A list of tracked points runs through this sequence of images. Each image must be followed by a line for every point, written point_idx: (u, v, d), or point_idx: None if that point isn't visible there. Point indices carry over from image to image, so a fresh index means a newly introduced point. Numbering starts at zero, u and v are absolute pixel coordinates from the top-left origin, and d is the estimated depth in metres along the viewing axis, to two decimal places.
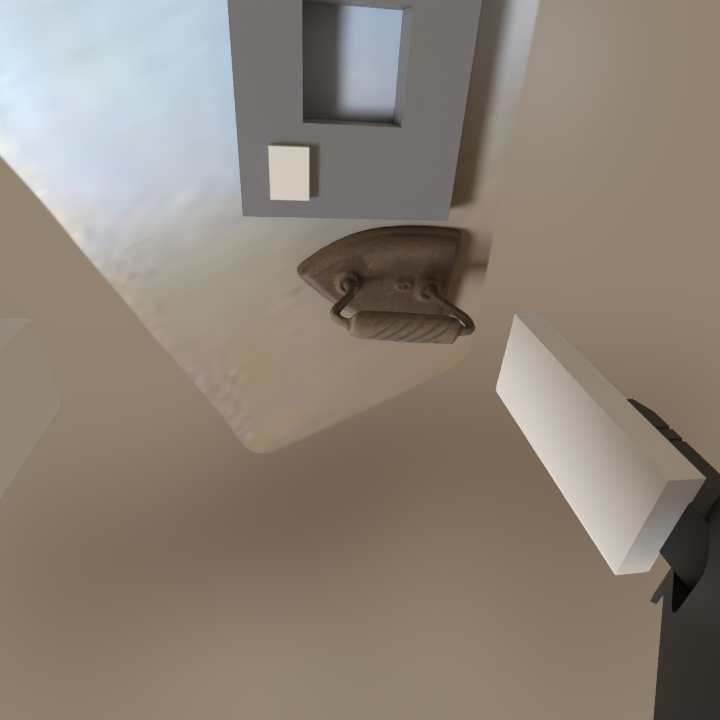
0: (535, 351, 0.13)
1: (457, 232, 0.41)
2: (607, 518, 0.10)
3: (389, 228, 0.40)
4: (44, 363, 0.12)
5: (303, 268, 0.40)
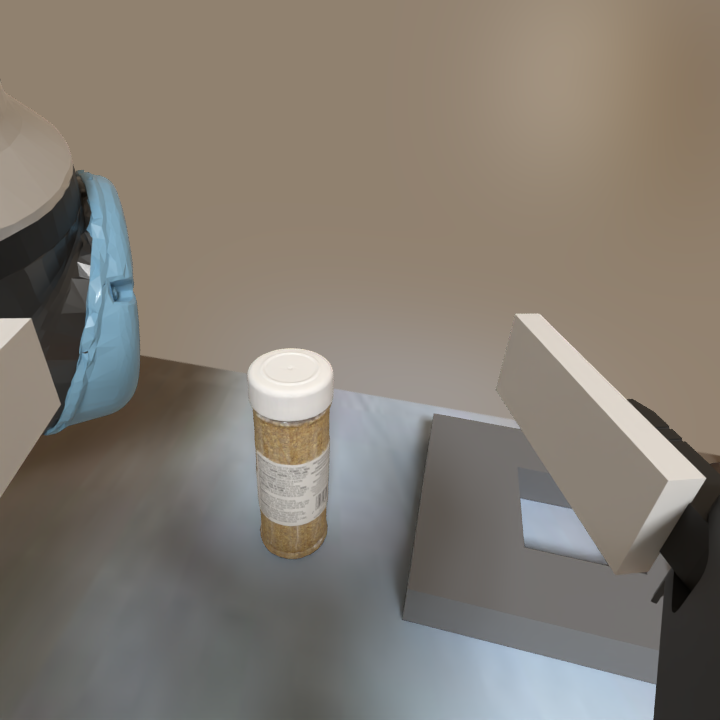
0: (534, 351, 0.13)
1: None
2: (607, 518, 0.10)
3: None
4: (44, 363, 0.12)
5: None
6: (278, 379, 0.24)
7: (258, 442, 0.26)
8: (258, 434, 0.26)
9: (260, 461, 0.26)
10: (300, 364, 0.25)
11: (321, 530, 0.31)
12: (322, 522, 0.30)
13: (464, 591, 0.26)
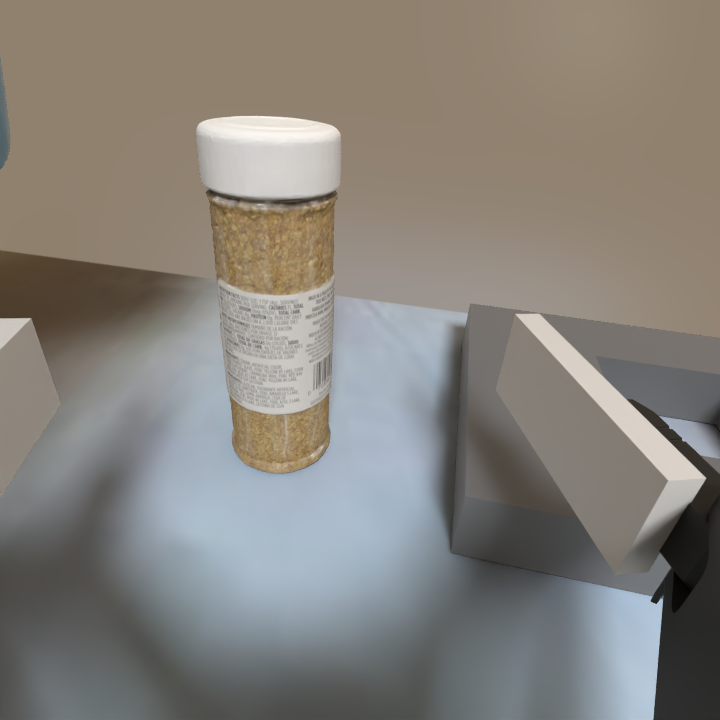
0: (535, 351, 0.13)
1: None
2: (607, 518, 0.10)
3: None
4: (44, 363, 0.12)
5: None
6: (247, 126, 0.14)
7: (219, 262, 0.16)
8: (218, 245, 0.16)
9: (224, 296, 0.16)
10: (286, 123, 0.15)
11: (322, 432, 0.21)
12: (323, 419, 0.20)
13: (555, 498, 0.16)
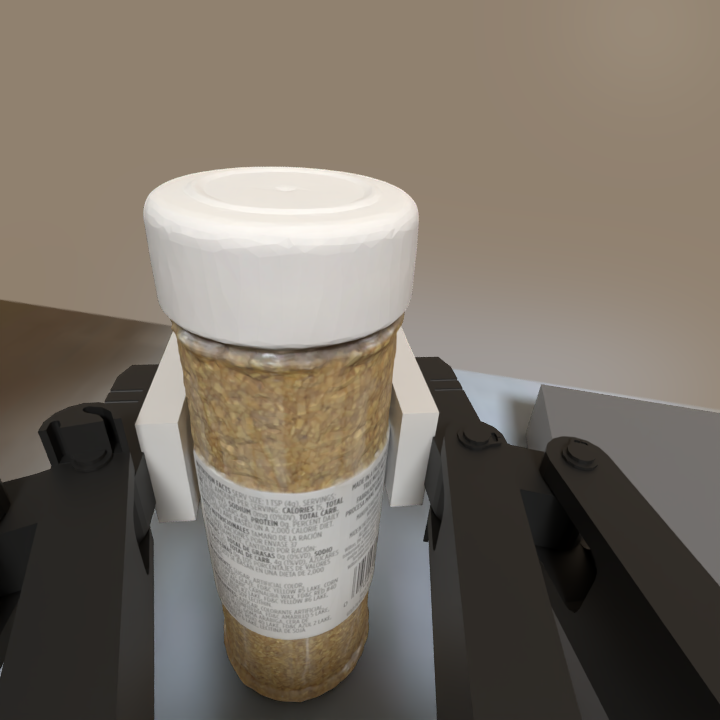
0: None
1: None
2: (387, 457, 0.11)
3: None
4: None
5: None
6: (243, 203, 0.07)
7: (195, 427, 0.09)
8: (192, 403, 0.09)
9: (205, 480, 0.09)
10: (316, 184, 0.08)
11: (359, 630, 0.14)
12: (362, 614, 0.13)
13: None
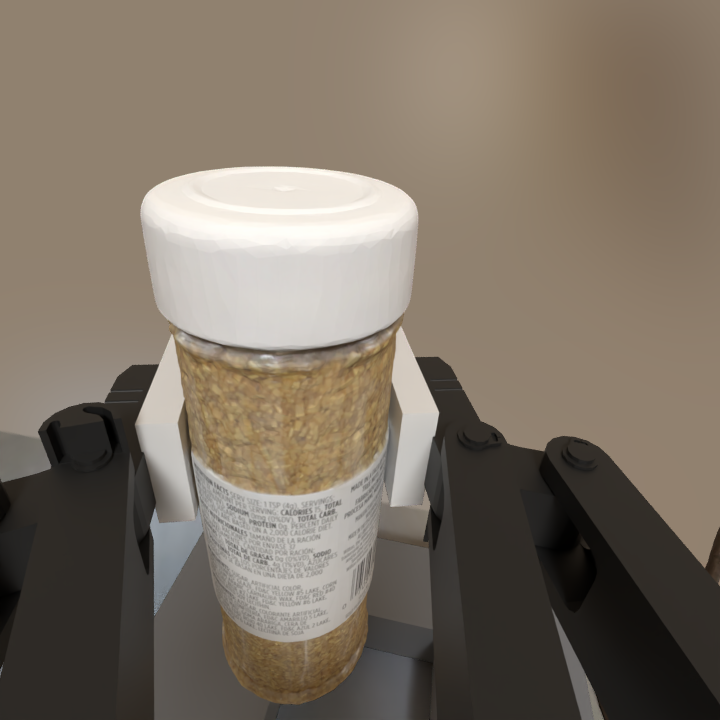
0: None
1: None
2: (387, 457, 0.11)
3: None
4: None
5: None
6: (241, 204, 0.07)
7: (193, 429, 0.09)
8: (190, 404, 0.09)
9: (202, 482, 0.09)
10: (315, 185, 0.08)
11: (358, 632, 0.14)
12: (361, 616, 0.13)
13: None
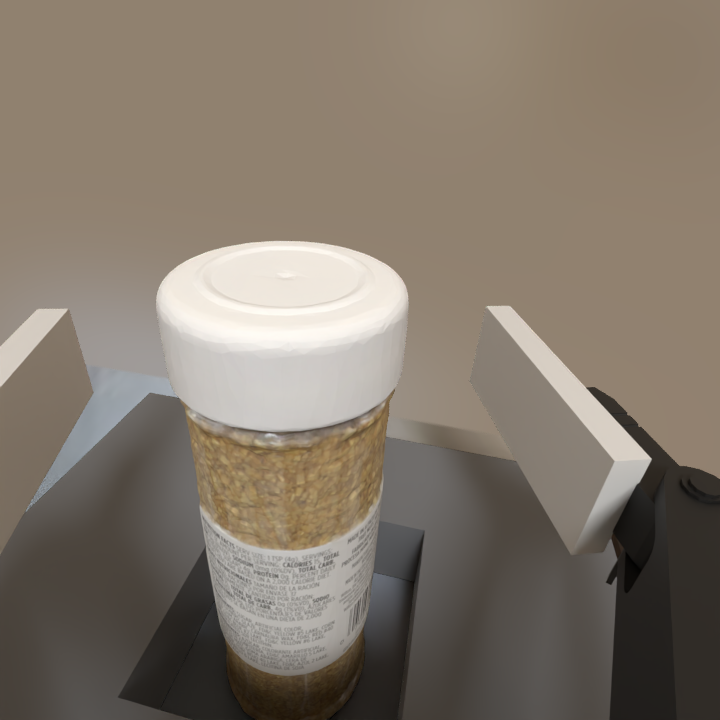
0: (503, 342, 0.13)
1: None
2: (564, 501, 0.10)
3: None
4: (79, 352, 0.13)
5: None
6: (247, 301, 0.08)
7: (201, 487, 0.10)
8: (199, 467, 0.09)
9: (210, 534, 0.10)
10: (314, 269, 0.09)
11: (355, 661, 0.14)
12: (358, 646, 0.14)
13: None
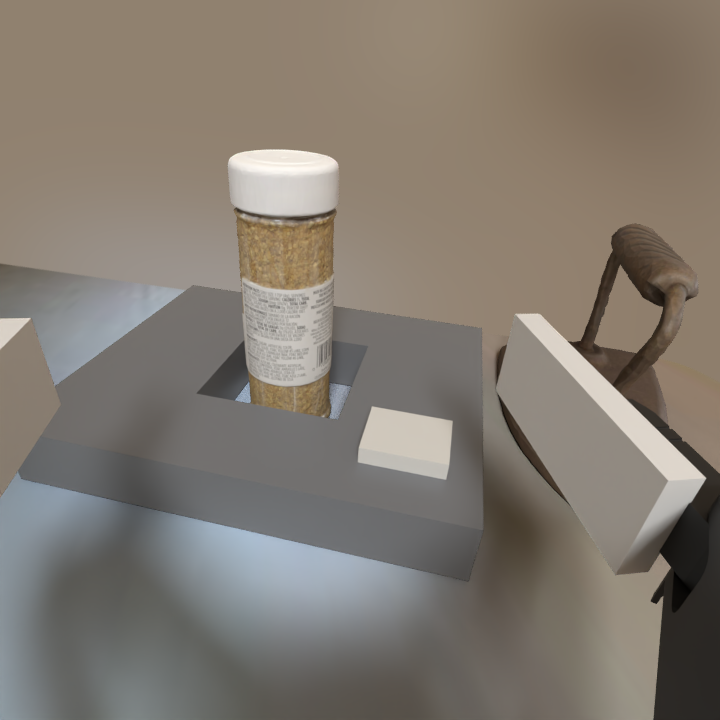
0: (534, 351, 0.13)
1: (501, 349, 0.32)
2: (607, 518, 0.10)
3: (504, 404, 0.28)
4: (44, 363, 0.12)
5: None
6: (267, 161, 0.18)
7: (243, 264, 0.21)
8: (243, 250, 0.20)
9: (247, 291, 0.21)
10: (296, 156, 0.20)
11: (323, 404, 0.25)
12: (325, 392, 0.25)
13: (73, 430, 0.20)
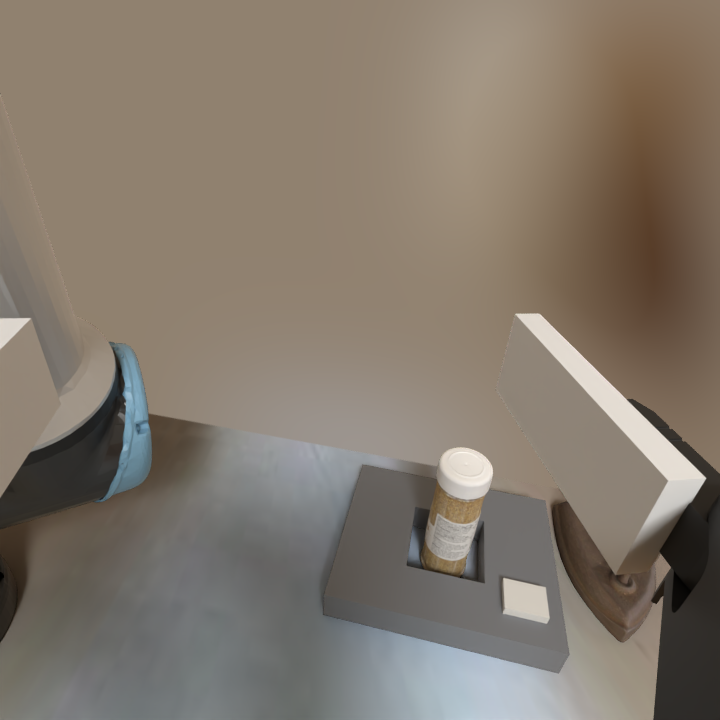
0: (534, 351, 0.13)
1: (554, 507, 0.53)
2: (607, 518, 0.10)
3: (562, 554, 0.48)
4: (44, 363, 0.12)
5: (619, 626, 0.41)
6: (463, 474, 0.39)
7: (441, 509, 0.41)
8: (442, 504, 0.40)
9: (440, 520, 0.41)
10: (471, 461, 0.40)
11: None
12: (466, 556, 0.45)
13: (360, 595, 0.40)
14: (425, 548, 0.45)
